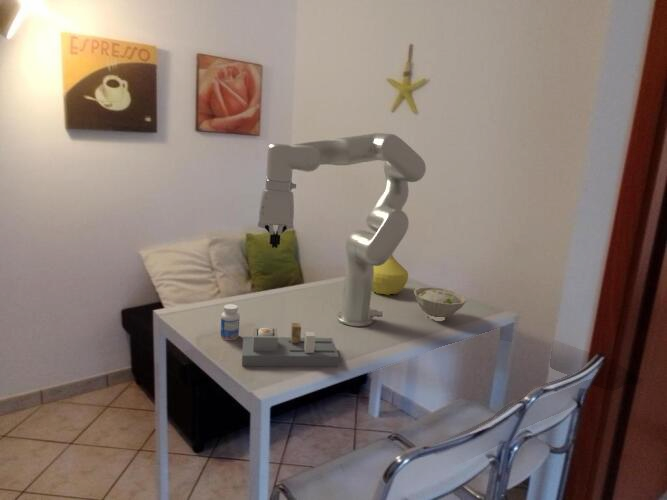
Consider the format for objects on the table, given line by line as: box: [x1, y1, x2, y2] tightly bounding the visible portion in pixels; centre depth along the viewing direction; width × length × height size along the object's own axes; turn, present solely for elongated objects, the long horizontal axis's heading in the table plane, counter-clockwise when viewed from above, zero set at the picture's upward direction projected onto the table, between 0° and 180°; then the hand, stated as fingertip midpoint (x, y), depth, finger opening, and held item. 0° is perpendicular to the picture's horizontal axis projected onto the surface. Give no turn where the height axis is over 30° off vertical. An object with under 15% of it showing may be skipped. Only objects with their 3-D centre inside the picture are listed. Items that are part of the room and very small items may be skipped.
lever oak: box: [290, 322, 302, 344], centre depth 135 cm, size 2×3×5 cm
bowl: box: [413, 286, 468, 318], centre depth 174 cm, size 19×19×10 cm
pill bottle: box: [220, 303, 241, 341], centre depth 141 cm, size 6×5×10 cm
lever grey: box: [304, 331, 316, 353], centre depth 130 cm, size 2×3×5 cm
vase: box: [371, 254, 409, 296], centre depth 198 cm, size 18×18×19 cm
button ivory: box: [258, 327, 273, 336], centre depth 131 cm, size 4×4×4 cm
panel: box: [241, 327, 340, 367], centre depth 132 cm, size 26×12×7 cm, turn 100°
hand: (274, 246), depth 144 cm, fingers closed
